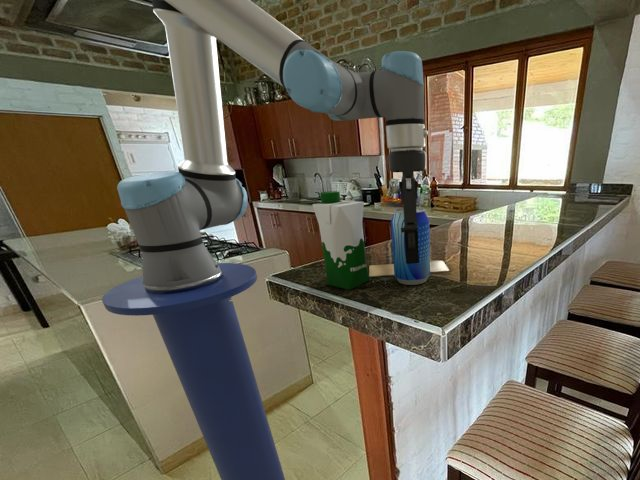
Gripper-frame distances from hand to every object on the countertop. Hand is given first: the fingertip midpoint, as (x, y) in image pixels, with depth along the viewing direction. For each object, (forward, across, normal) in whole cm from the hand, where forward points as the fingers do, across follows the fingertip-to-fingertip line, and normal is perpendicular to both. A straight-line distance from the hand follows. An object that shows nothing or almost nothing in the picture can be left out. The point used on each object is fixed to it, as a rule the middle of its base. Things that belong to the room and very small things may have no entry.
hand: (412, 254), depth 76 cm
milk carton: (+6, 0, +15) cm, 16 cm away
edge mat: (+6, +9, +1) cm, 11 cm away
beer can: (+6, 0, 0) cm, 6 cm away
